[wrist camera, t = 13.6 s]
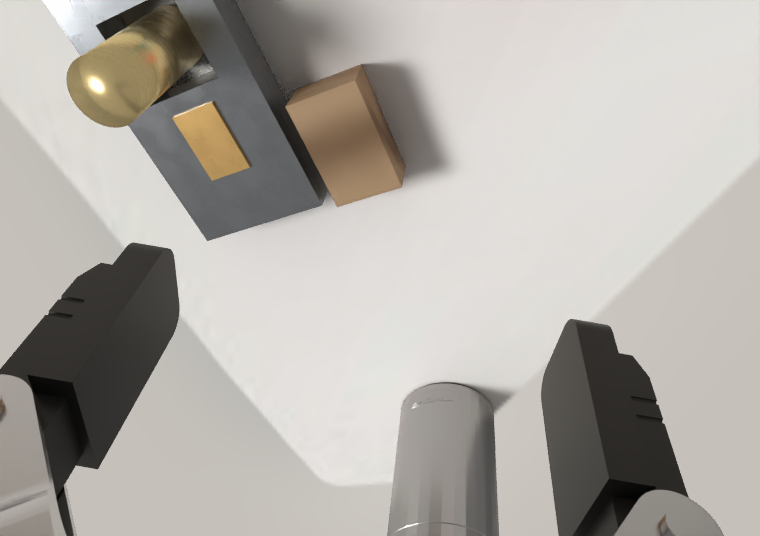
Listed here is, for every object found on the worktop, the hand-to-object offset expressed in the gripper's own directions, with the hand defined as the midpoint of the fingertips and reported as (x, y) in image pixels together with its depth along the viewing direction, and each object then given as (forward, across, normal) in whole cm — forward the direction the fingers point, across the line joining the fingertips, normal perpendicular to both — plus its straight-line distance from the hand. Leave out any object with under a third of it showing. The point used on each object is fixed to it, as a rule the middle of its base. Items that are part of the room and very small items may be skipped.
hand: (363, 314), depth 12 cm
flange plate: (+30, +14, +9) cm, 35 cm away
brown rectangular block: (+30, +4, +10) cm, 32 cm away
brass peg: (+30, +16, +6) cm, 35 cm away
